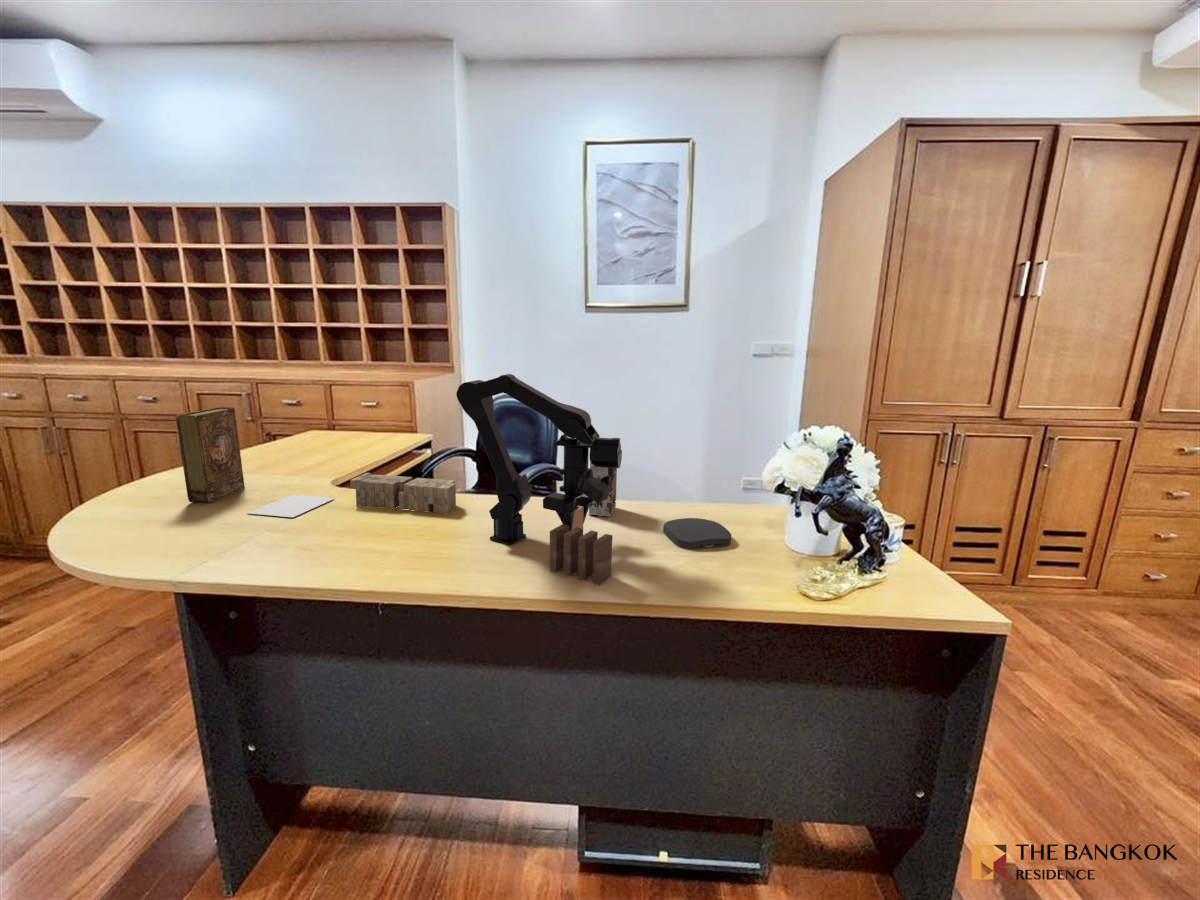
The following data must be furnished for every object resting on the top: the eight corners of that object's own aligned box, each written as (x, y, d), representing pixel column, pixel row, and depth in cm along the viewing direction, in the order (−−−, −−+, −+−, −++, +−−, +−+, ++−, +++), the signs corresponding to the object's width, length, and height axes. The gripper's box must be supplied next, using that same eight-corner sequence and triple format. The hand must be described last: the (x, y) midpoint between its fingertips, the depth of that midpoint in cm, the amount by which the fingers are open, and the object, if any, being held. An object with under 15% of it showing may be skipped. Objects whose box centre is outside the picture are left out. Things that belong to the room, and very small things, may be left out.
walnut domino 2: (563, 575, 109) (563, 534, 107) (576, 566, 113) (576, 527, 111) (570, 576, 108) (570, 536, 106) (582, 568, 112) (583, 528, 111)
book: (230, 487, 162) (219, 406, 157) (247, 487, 162) (237, 407, 157) (188, 503, 146) (175, 415, 141) (208, 504, 146) (195, 415, 141)
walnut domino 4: (592, 583, 106) (593, 541, 104) (604, 573, 110) (605, 533, 108) (599, 585, 105) (600, 543, 103) (611, 575, 109) (612, 535, 107)
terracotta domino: (566, 547, 122) (566, 511, 121) (577, 540, 127) (577, 505, 125) (572, 549, 122) (572, 512, 120) (583, 542, 126) (583, 506, 124)
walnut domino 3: (577, 579, 107) (578, 538, 105) (590, 570, 112) (590, 530, 110) (584, 581, 107) (585, 539, 105) (596, 571, 111) (597, 531, 109)
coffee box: (610, 517, 144) (612, 460, 140) (588, 515, 145) (589, 459, 141) (616, 507, 152) (618, 453, 149) (594, 505, 153) (596, 452, 150)
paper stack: (364, 503, 151) (364, 500, 151) (302, 534, 127) (302, 531, 127) (293, 496, 155) (292, 494, 155) (219, 526, 131) (219, 523, 131)
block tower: (460, 509, 151) (368, 497, 156) (460, 481, 149) (367, 470, 154) (447, 518, 143) (351, 506, 148) (447, 488, 142) (350, 477, 146)
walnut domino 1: (549, 571, 111) (549, 531, 109) (562, 562, 115) (562, 523, 113) (555, 573, 110) (556, 532, 108) (568, 564, 114) (569, 525, 112)
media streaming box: (658, 529, 137) (659, 518, 136) (709, 526, 140) (710, 515, 140) (680, 552, 123) (681, 540, 122) (736, 547, 127) (737, 535, 126)
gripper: (585, 479, 108) (584, 549, 112) (625, 461, 124) (623, 523, 128) (541, 471, 113) (541, 539, 117) (584, 455, 129) (583, 515, 133)
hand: (574, 529), depth 123 cm, fingers closed on terracotta domino, 5 cm apart
